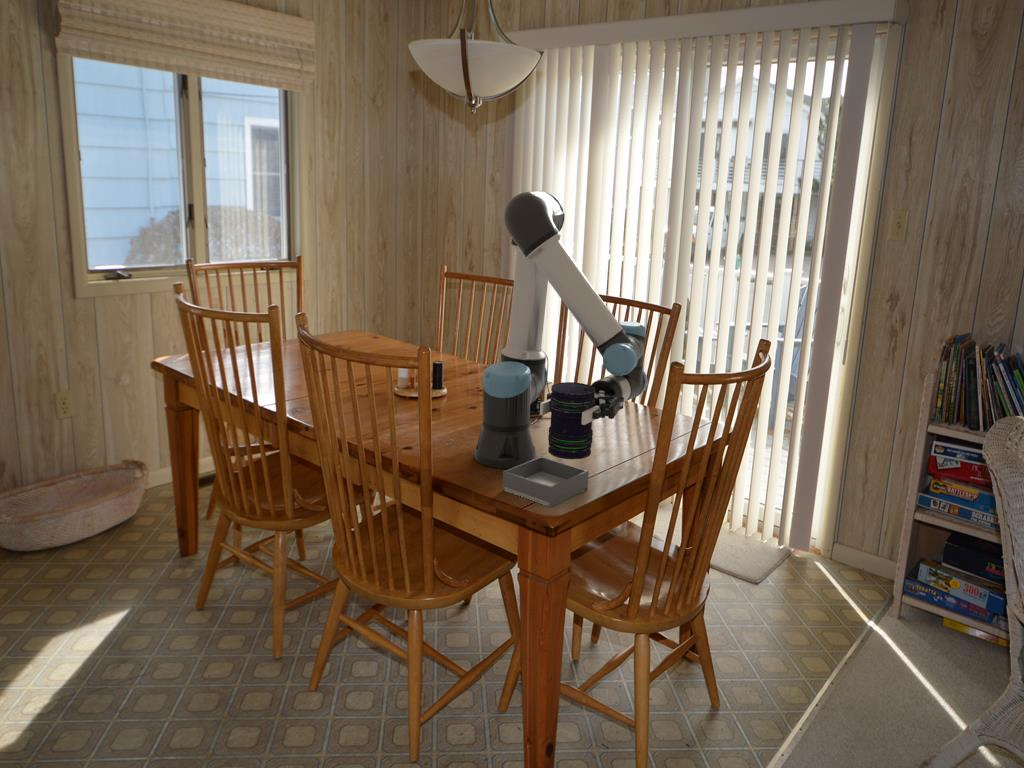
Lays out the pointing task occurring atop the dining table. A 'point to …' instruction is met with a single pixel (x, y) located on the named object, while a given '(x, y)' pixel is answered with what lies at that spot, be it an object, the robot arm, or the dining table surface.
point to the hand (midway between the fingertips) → (562, 413)
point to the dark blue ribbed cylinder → (570, 420)
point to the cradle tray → (545, 481)
